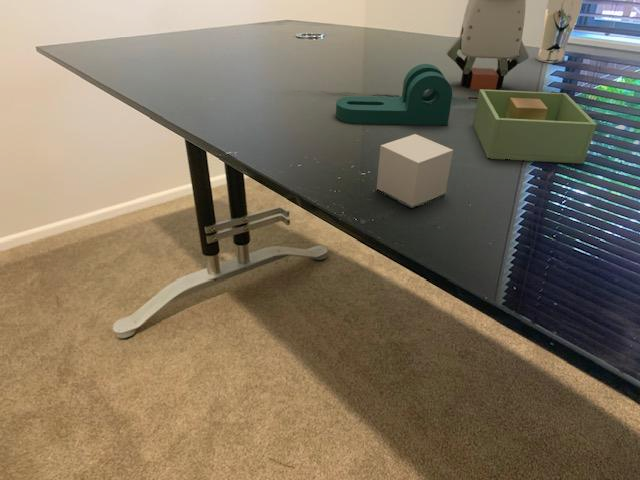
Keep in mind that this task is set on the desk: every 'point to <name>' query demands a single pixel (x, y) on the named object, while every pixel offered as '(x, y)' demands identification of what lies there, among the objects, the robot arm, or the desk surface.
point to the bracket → (403, 102)
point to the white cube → (414, 169)
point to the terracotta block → (483, 79)
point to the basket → (533, 128)
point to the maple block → (526, 109)
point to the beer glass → (558, 29)
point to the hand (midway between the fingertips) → (479, 93)
